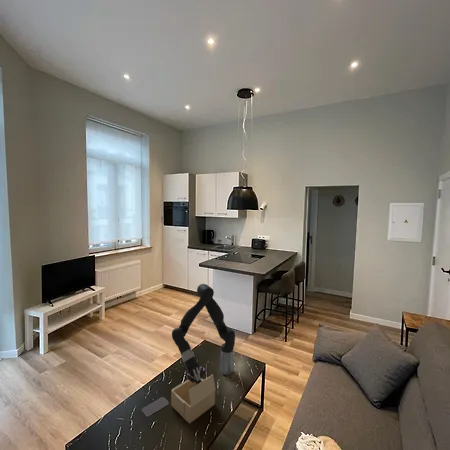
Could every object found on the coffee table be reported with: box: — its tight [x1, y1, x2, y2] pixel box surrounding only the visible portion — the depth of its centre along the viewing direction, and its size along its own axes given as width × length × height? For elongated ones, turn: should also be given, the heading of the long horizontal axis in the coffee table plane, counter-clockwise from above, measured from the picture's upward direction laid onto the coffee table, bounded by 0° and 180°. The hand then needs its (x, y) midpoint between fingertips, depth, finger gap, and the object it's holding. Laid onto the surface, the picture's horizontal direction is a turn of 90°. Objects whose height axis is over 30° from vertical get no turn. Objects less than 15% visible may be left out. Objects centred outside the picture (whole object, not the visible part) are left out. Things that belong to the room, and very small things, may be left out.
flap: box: [188, 374, 217, 407], centre depth 150 cm, size 19×9×1 cm
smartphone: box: [141, 396, 169, 418], centre depth 155 cm, size 7×1×15 cm
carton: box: [170, 377, 216, 425], centre depth 157 cm, size 21×19×10 cm
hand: (201, 387), depth 151 cm, fingers closed
